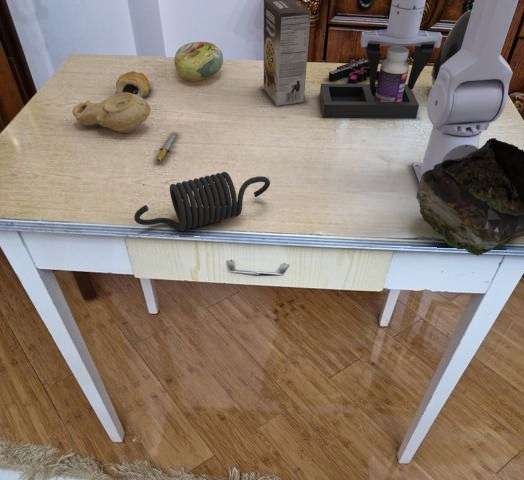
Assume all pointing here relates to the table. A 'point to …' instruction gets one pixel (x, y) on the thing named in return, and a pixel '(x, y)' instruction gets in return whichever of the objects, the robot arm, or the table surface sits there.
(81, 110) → the oil lamp
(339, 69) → the logo
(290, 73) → the coffee box
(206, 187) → the coil
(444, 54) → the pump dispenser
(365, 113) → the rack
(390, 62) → the pill bottle
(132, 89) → the pastry
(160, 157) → the dagger
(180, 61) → the cell model
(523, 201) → the rock
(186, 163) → the table surface
